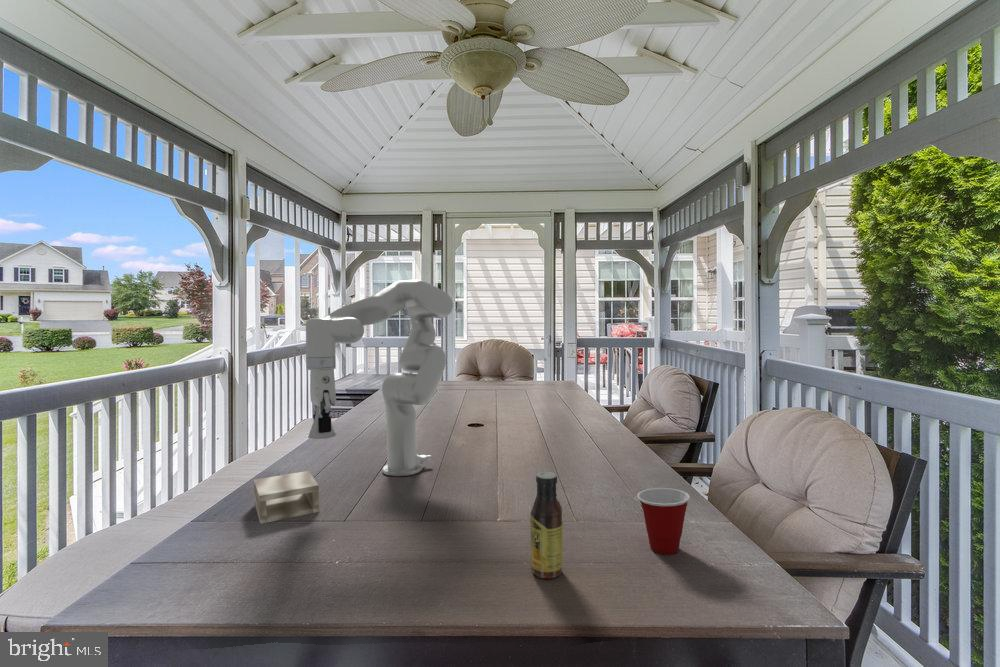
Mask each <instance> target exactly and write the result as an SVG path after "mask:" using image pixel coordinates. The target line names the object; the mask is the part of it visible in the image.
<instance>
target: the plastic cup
mask: <svg viewBox="0 0 1000 667" xmlns="http://www.w3.org/2000/svg"><path fill="white" fill-rule="evenodd" d="M689 494H690V493H688V492H686V491H683V490H681V489H676V488H667V487H657V488H656V487H654V488H653V487H652V488H648V489H644V490H642V491H639V492H638V493H637V494H636V497H637V499H638V501H639V503H640V504H641V509H642V512H643V517H644V523H645V528H646V532H647V537H648V544H649V547H650V549H651V550H652V551H653V553H656V554H659V555H665V556H670V555H675V554H677V553H678V551H679V548H680V544H681V538H682V535H683V529H684V522H685V517H686V512H687V508H688V502H689V500H690V498H691V496H690V495H689Z"/></svg>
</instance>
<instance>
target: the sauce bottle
mask: <svg viewBox="0 0 1000 667" xmlns="http://www.w3.org/2000/svg"><path fill="white" fill-rule="evenodd" d="M535 482H536V497H535V498H534V503H533V505H532V508H531V511H530V564H531V571H532V573H533V574H534V576H536V577H537V578H539V579H555V578H557V577H560V576H561V574H562V570H563V527H564V526H563V509H562V505H561V504H560V501H558V499H557V497H558V496H557V495H558V494H557V483H558V475H557V474H556V473H555V472H551V471H541V472H538V473H537V474H536V476H535Z"/></svg>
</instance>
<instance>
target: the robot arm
mask: <svg viewBox="0 0 1000 667" xmlns="http://www.w3.org/2000/svg"><path fill="white" fill-rule="evenodd" d="M405 308H406V310H407V313H408V315H409V320H410V323H411V328H410V333H409V335H408V337H407V340H406V342H405V345H404V346H403V348H402V351H401V352H400V356H399V358H398V360H399V361H398V364H399V367H400V369H402V370H403V371H404V372H394V373H391V374H388V375H387V376H386V377H385V378H384V380H383V382H382V386H381V390H382V391H381V392H382V396H383V400H384V406H385V415H386V416H385V419H386V420H385V421H386V422H385V423H386V456H387V458H386V459H387V460H386V461H387V464H385V465H384V466H383V467H382V473H383V474H385V475H387V476H391V477H407V476H412V475H415V474H418V473H420V472H421V471H422V470H423V464H424V463H425V462H426V463H428V462H431V461H432V460H433V458H432V455H431V454H428V455H425V454H421V455H419V453H418V440H417V439H418V435H417V433H418V431H417V413H416V410H415V407H414V406H424V405H425V406H426V405H427V404H429V402H431V400H433V397H434V396H435V393H436V391H437V388H438V386H439V384H440V381H441V379H442V376H443V374H444V370H445V368H446V363H447V361H446V360H447V358H446V353H445V351H444V349H443V348H442V347H440V346H439V345H436V344H434V342H435V339H436V334H437V333H436V329H435V326H434V324H433V321H432V320H431V319H441V318H446V317H448V316H450V314H452V311H453V308H454V302H453V300H452V297H451V296H450V295H449V293H447V292H446V291H444V290H443V289H441V288H438V287H437V286H435V285H434V284H431V283H429V282H427V281H424V280H421V279H408V280H406V279H405V280H404V279H403V280H398V281H397V280H396V281H395V282H393V283H391V284H389V285H387V286H386V287H384V288H382V289H381V290H379V291H377V292H376V293H374V294H372V295H370V296H368V297H366V298H365V297H364V298H363V299H360V300H358V301H355V302H352V303H349V304H347V305H344V306H342V307H340V308H337V309H336V310H334V311H332V312H330V313H328V314H326V315H325V316H324V317H310V318H309V319H307V320H306V321H305V352H306V353H305V354H306V356H305V358H306V360H305V361H306V362H305V364H306V368H305V369H306V370H307V371H309V374H310V375H309V385H310V386H309V387H310V388H309V389H310V390H309V393H310V395H309V396H310V397H309V398H310V402H311V403H312V404H313V421H314V418H315V415H316V409H317V406H318V407H319V417H320V418H318V431H319V433H325V432H331V422H332V412H331V408H332V406H336V404H337V396H336V394H337V392H336V380H335V371H334V370H335V369H336V367H337V358H336V356H337V355H336V344H345V345H347V344H348V345H349V344H355V343H357V342H359V341H360V340H361V339H362V338H363V336H364V333H365V326H369V325H376V324H379V323H382V322H385V321H387V320H388V319H390V318H391V317H393V316H394V315H396V314H397V313H399V312H401V311H402V310H403V309H405ZM406 372H407V373H406ZM321 404H324V405H325V406H321ZM323 408H324V409H323ZM322 409H323V410H322Z"/></svg>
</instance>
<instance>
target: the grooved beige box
mask: <svg viewBox="0 0 1000 667" xmlns="http://www.w3.org/2000/svg"><path fill="white" fill-rule="evenodd" d="M319 488H320V487H319V484H318V483H317V481H316V480H315V478H314V476H313V475H312V474H311V473H310V471H309V470H305V471H300V472H292V473H287V474H282V475H276V476H269V477H262V478H258V479H253V491H254V492H253V495H254V508H255V511H256V514H257V518H258V521H259V524H260V525H261V524H266V523H271V522H276V521H281V520H286V519H291V518H295V517H300V516H305V515H309V514H315V513H320V492H319V490H320V489H319Z"/></svg>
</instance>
